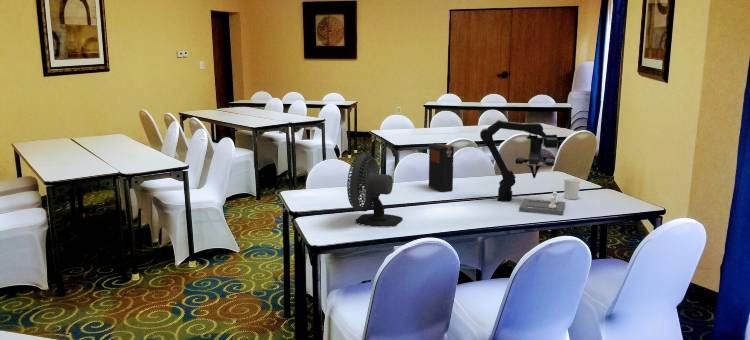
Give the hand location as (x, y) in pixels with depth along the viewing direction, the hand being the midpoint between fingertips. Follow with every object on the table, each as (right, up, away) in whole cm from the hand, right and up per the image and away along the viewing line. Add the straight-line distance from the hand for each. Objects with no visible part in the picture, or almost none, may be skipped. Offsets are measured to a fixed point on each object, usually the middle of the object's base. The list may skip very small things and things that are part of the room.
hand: (534, 177), depth 306 cm
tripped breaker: (+7, -12, -10) cm, 17 cm away
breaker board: (+1, -15, -13) cm, 19 cm away
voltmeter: (-45, -7, +29) cm, 53 cm away
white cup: (+21, -11, +8) cm, 25 cm away
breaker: (+4, -14, -19) cm, 24 cm away
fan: (-83, -19, -32) cm, 91 cm away
